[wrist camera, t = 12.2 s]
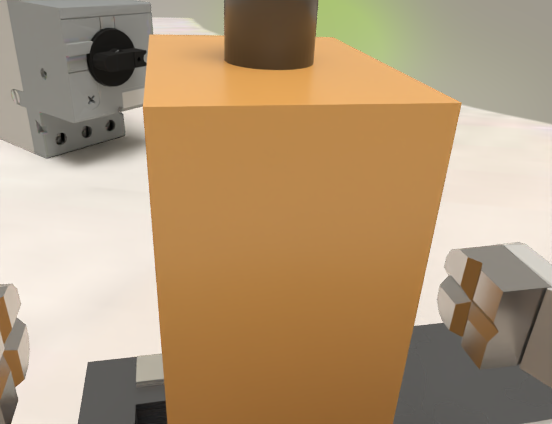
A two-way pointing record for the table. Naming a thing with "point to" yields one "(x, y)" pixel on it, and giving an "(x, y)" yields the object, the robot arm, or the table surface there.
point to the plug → (288, 218)
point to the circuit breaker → (70, 71)
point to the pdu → (411, 402)
